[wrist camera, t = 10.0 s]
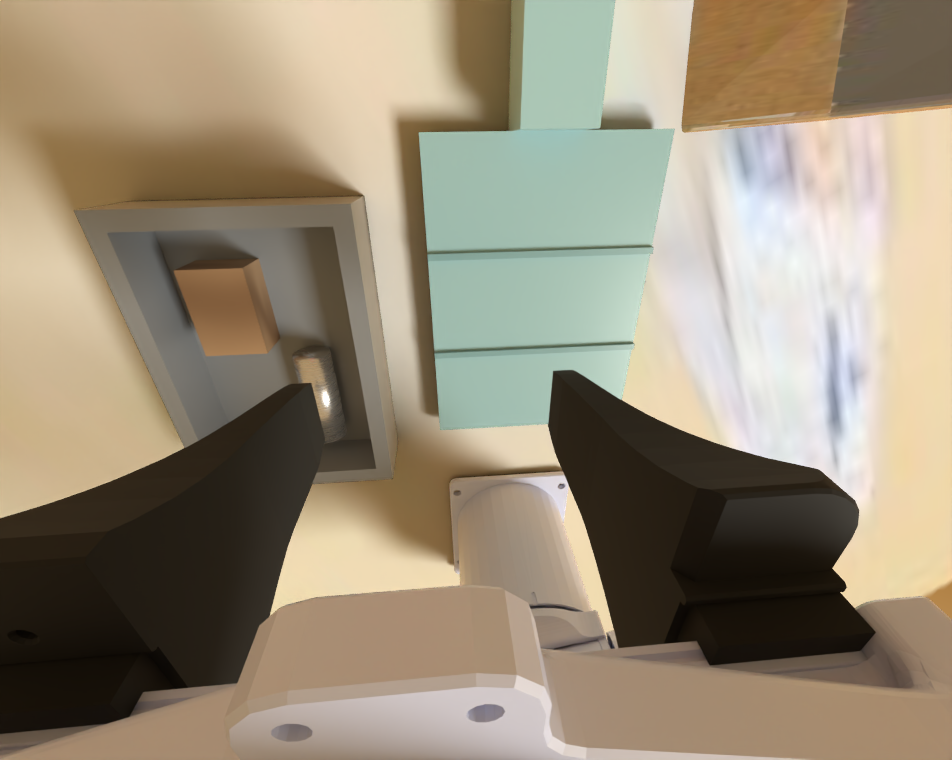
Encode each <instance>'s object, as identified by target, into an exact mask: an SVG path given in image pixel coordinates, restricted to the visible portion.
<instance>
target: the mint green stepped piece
mask: <svg viewBox="0 0 952 760" xmlns="http://www.w3.org/2000/svg"><path fill="white" fill-rule="evenodd" d="M614 7H615V0H511V38H510V83H509V129H508V131H475V132H419V144H420V158H421V171H422V185H423V199H424V213H425V227H426V241H427V257H428V269H429V283H430V297H431V311H432V324H433V338H434V355H435V366H436V380H437V394H438V408H439V422H440V430H453V429H470V428H487V427H504V426H521V425H539V424H548V422H549V411H550V399H551V388H552V377H553V371H558V370H574V371H576V372H578V373H580V374H581V375H583V376H585V377H586V378H588V379H589V380H591V381H592V382H594V383H595V384H597V385H598V386H600V387H601V388H603V389H605V390H606V391H608V392H609V393H611V394H612V395H614V396H616V397H617V398H619V399H621V400H622V396H623V391H624V386H625V381H626V376H627V371H628V366H629V360H630V355H631V350H632V349H634V343H633V340H634V335H635V330H636V325H637V319H638V314H639V309H640V304H641V299H642V294H643V289H644V284H645V278H646V273H647V268H648V263H649V258H650V254H652V253H653V248H654V247H652V243H653V238H654V232H655V227H656V222H657V217H658V212H659V207H660V202H661V197H662V191H663V186H664V181H665V176H666V171H667V166H668V161H669V156H670V150H671V145H672V140H673V135H674V130H675V129H621V130H589V129H597V128H600V126H601V117H602V109H603V100H604V92H605V83H606V75H607V66H608V58H609V49H610V41H611V32H612V24H613V15H614Z"/></svg>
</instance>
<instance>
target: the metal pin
mask: <svg viewBox="0 0 952 760" xmlns="http://www.w3.org/2000/svg"><path fill="white" fill-rule="evenodd" d="M292 358H293V362H294V366H295V369H296V373H297V377H298V381H299V383H312V387H313V391H314V395H315V399H316V404H317V408H318V412H319V416H320V420H321V424H322V428H323V432H324V436H325V442H324V444H327V443H333V442H336V441H338V440H340V439H342V438H343V437H344V436H345V435H346V433H347V428H346V423H345V418H344V413H343V409H342V404H341V399H340V394H339V390H338V385H337V380H336V376H335V371H334V366H333V361H332V357H331V352H330V349H329V348H328V347H326V346H308V347H304V348H301V349H299V350H297V351H295V352H294V353H293V355H292Z"/></svg>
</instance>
